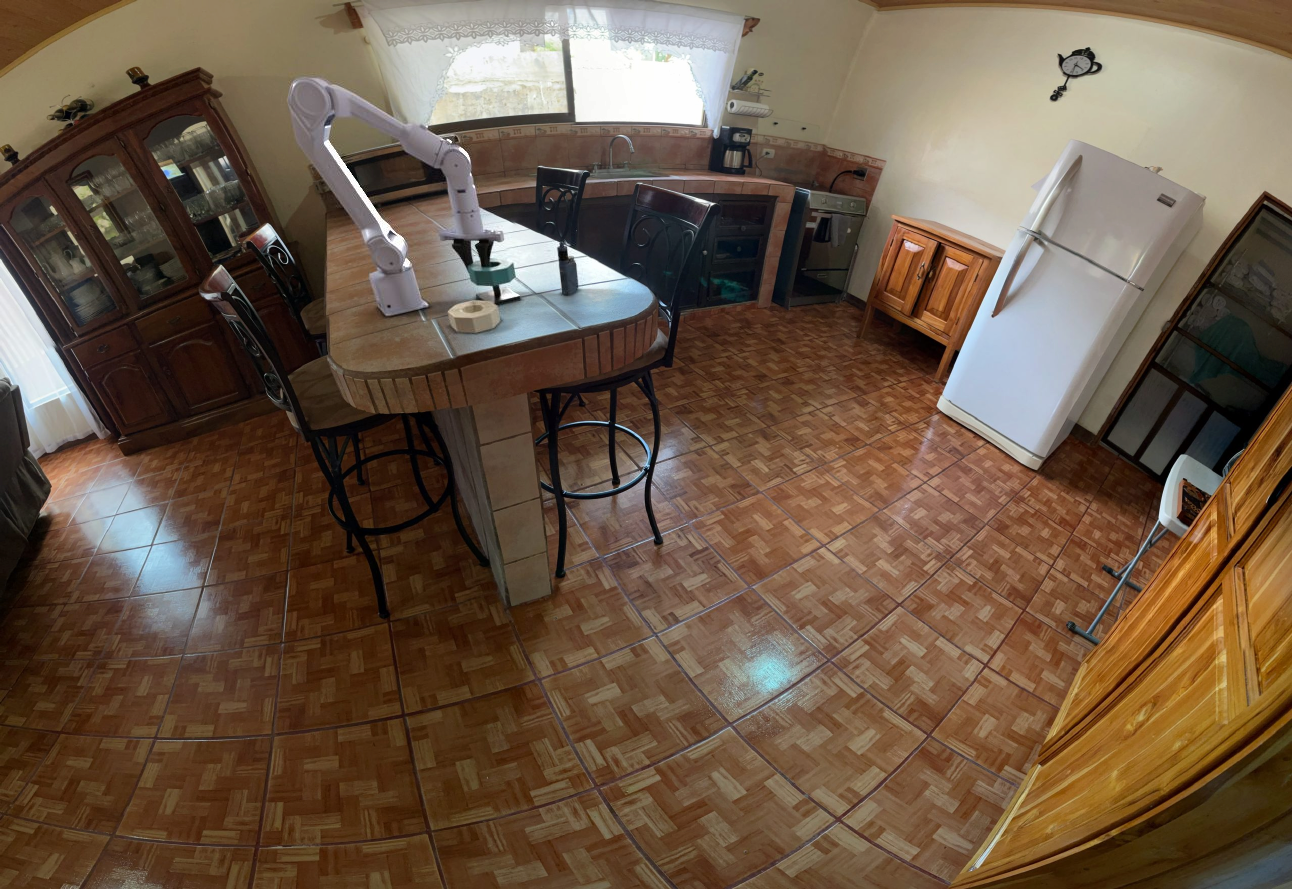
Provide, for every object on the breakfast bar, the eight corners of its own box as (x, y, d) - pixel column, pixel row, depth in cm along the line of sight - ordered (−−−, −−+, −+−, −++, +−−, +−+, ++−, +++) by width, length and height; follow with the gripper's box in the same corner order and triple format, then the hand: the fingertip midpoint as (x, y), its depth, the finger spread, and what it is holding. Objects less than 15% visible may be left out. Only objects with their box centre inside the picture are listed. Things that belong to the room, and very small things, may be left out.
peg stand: (489, 307, 117) (484, 282, 114) (476, 298, 123) (470, 273, 119) (520, 299, 121) (516, 274, 118) (506, 290, 126) (502, 266, 123)
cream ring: (462, 336, 105) (458, 321, 103) (446, 322, 111) (442, 307, 109) (505, 325, 109) (502, 309, 107) (488, 311, 116) (485, 297, 113)
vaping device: (559, 294, 124) (553, 243, 117) (572, 287, 127) (566, 238, 120) (568, 296, 123) (563, 245, 116) (580, 289, 126) (575, 239, 119)
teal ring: (482, 289, 114) (478, 273, 112) (466, 278, 120) (463, 263, 118) (521, 279, 118) (518, 265, 116) (504, 269, 125) (501, 255, 123)
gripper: (504, 206, 113) (514, 268, 121) (443, 206, 115) (457, 266, 123) (492, 214, 107) (503, 277, 115) (428, 213, 109) (444, 275, 117)
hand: (479, 272), depth 119 cm, fingers closed on teal ring, 3 cm apart
